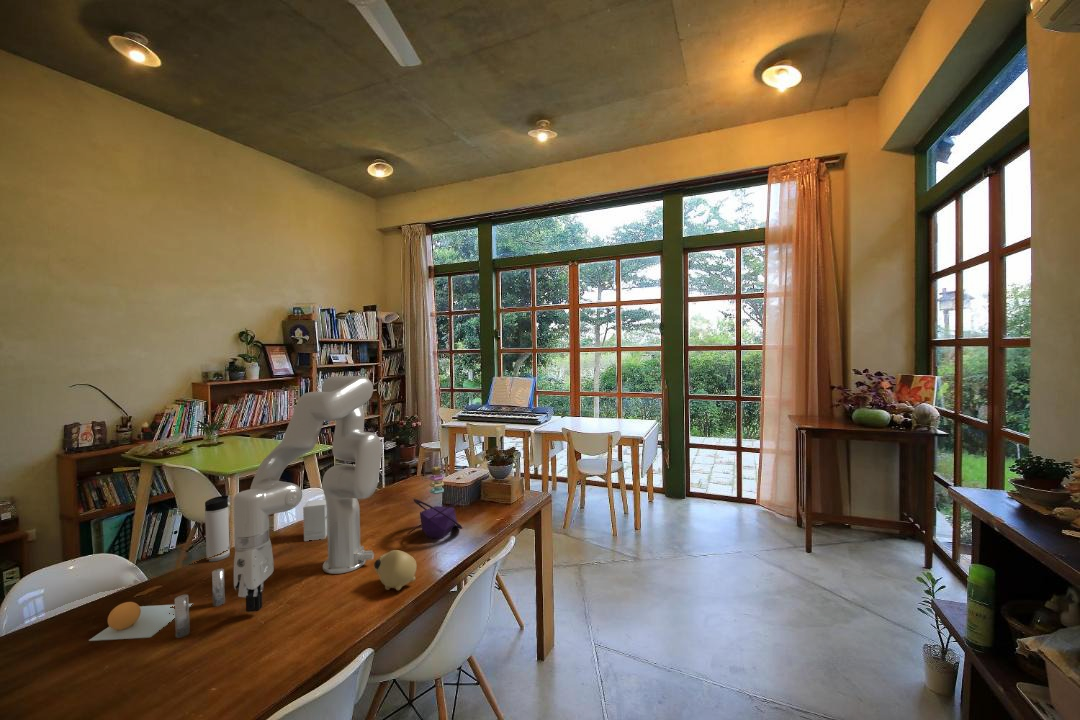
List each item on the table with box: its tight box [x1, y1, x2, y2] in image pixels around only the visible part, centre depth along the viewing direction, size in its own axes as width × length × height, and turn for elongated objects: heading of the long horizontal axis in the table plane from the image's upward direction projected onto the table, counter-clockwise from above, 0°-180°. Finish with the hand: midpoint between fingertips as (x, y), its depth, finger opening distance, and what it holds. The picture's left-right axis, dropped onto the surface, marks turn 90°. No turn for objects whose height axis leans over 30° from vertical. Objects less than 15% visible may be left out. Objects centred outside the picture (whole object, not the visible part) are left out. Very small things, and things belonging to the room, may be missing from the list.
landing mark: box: [88, 603, 193, 642], centre depth 112 cm, size 14×14×1 cm
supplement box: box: [302, 499, 327, 542], centre depth 163 cm, size 7×7×13 cm
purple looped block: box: [406, 466, 467, 539], centre depth 161 cm, size 22×21×25 cm
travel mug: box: [204, 494, 231, 562], centre depth 147 cm, size 6×7×20 cm
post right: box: [211, 568, 226, 607], centre depth 119 cm, size 3×3×9 cm
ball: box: [107, 601, 141, 630], centre depth 109 cm, size 6×6×6 cm
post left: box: [174, 594, 191, 639], centre depth 106 cm, size 3×3×9 cm
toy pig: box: [373, 549, 417, 591], centre depth 126 cm, size 10×12×11 cm
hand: (254, 609), depth 113 cm, fingers closed
